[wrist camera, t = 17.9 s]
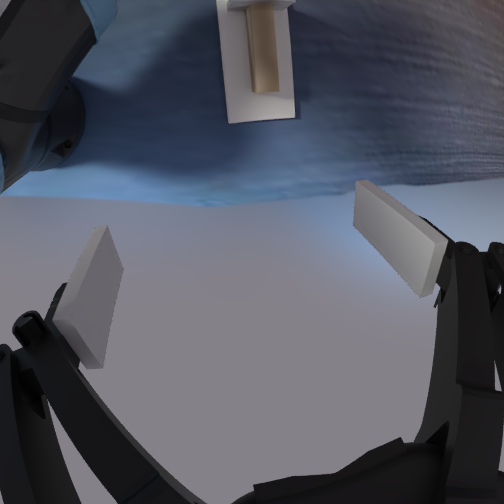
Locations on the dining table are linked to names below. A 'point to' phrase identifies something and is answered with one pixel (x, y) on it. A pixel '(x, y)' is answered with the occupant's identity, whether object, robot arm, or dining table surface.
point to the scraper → (261, 40)
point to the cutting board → (238, 70)
